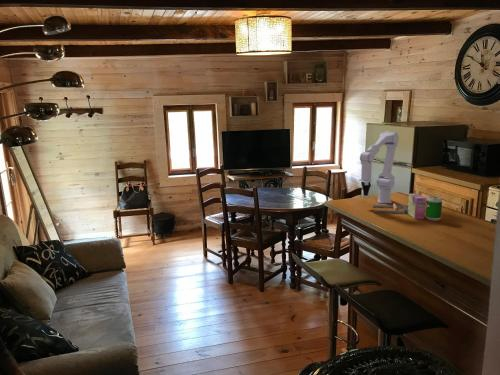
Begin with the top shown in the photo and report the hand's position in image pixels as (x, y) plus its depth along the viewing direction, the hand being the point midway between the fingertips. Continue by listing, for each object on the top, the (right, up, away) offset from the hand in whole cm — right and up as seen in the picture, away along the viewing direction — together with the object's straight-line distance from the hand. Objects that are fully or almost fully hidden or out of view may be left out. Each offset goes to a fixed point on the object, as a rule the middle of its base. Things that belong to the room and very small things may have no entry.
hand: (365, 194), depth 247 cm
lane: (+13, -9, -4) cm, 17 cm away
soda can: (+30, -13, -24) cm, 41 cm away
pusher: (+16, -9, -5) cm, 19 cm away
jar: (0, -2, 0) cm, 2 cm away
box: (+23, -12, -17) cm, 31 cm away
